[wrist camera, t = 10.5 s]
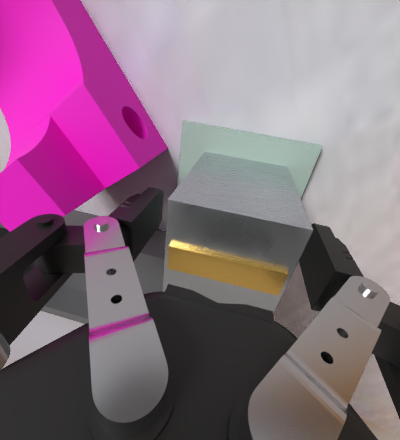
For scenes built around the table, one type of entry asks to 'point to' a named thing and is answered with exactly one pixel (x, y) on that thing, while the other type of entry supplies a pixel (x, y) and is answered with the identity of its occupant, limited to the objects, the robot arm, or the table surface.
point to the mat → (247, 150)
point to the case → (76, 284)
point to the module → (235, 231)
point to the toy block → (64, 111)
